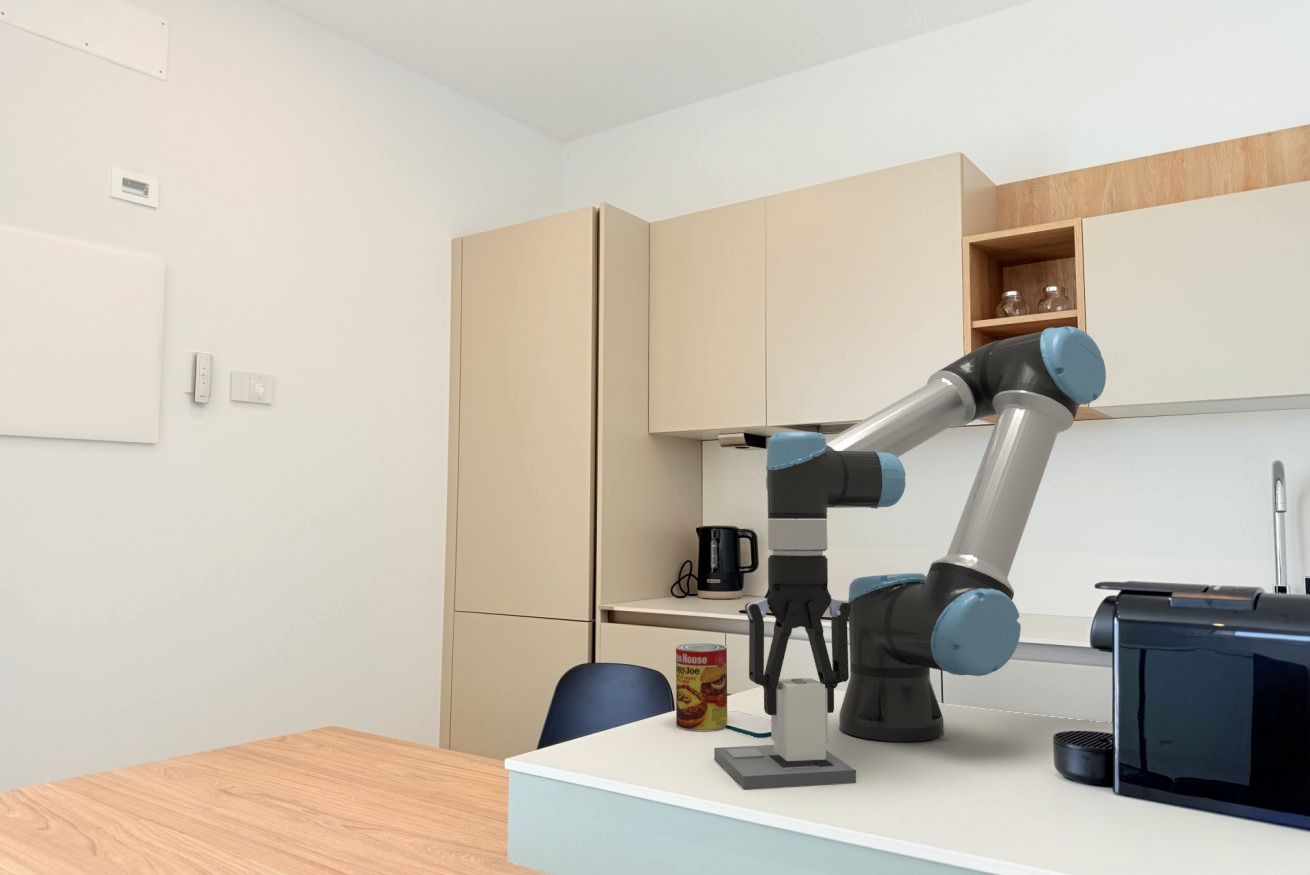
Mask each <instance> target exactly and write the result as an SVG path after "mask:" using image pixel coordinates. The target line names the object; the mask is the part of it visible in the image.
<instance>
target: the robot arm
mask: <svg viewBox="0 0 1310 875" xmlns="http://www.w3.org/2000/svg"><path fill="white" fill-rule="evenodd" d="M1106 378H1107V371H1106V365H1105V361H1104V358H1103V356H1102V352H1101V350H1100V348H1099V346H1098V345H1097V342H1095V340H1094V339H1093V338H1092V337H1091V336H1090V335H1089V334H1088V333H1087V332H1085V331H1084V330H1082V329H1080V328H1078V327H1075V326H1062V327H1048V328H1045V329H1044V330H1043V331H1038V332H1033V333H1030V334H1025V335H1019V336H1014V337H1009V338H1006V339H1000V340H994V341H991V342H990V343H987V344H984V345H982V346H980V347H978V348H976V349H974V350H972V351H971V352H968V353H967V354H965V355H963V356H962V357H960V358H958V359H956V360H955V361H953V362H952V363H950V364H948V365H945V367H943V368H941V369H939V370H937V371H936V372H935V373H932V375H930V377H928V379H927V381H926V385H924V386H922V387H920V388H917V390H915V391H913V392H911V393H908V395H906V396H904V397H902V398H900V399H899V400H897V401H896V402H893V403H891V404H890V405H888V406H886V407H884V408H882V409H881V410H879V411H877V412H875V413H873V414H872V415H870V416H868V417H867V418H865V419H863V420H861V421H859V422H858V423H856V424H854V425H852V426H850V427H849V428H847V429H845V430H843V431H841V432H839V433H838V434H836V435H834V436H832V437H831V438H829V439H826V436H825V435H824V434H823V433H820V432H815V431H787V432H785V431H784V432H778V433H775V434H773V435H772V436H770V438H769V439H768V443H767V450H766V454H767V455H766V456H767V457H766V466H765V469H766V478H765V487H766V490H767V549H768V550H769V551H772V554H770V555H769V557H767V583H768V584H767V585H768V587H767V591H766V593H765V596H764V599H761V600H758V601H756V602H747V603H746V604H745V606H744V610H745V613H746V615H747V618H748V621H749V622H748V624H749V626H748V627H749V628H748V629H749V630H748V632H749V634H748V637H749V638H748V643H749V644H748V652H749V653H748V678H749V680H750V681H751V682H753V683H755V684H756V685H759V686H762V687H763V688H762V689H763V710H764V713H765V714H766V715H768V716H770V718H771V719H770V720H771V737H770V738H771V740H772V741H773V742H774V741H775V742H776V743H778V744H784V699H783V689H781V688H779V687H777V686H778V682H779V679H780V677H781V673H782V669H783V666H784V665H783V664H784V660H785V655H786V651H787V646H788V643H789V638H790V636H791V634H792V632H793V629H798V628H800V627H803V628H804V630H805V632H806V633H807V637H808V641H809V646H810V649H811V652H812V657H813V660H814V661H813V662H814V665H815V668H816V672H817V676H818V680H819V682H820V683H822V684H824V685H825V732H826V743H827V742H829V734H828V733H829V732H828V730H829V728H828V726H829V724H828V722H829V721H828V720H829V719H828V718H829V714H832V713H834V710H835V688H837V687H838V684H840V683H846V682H847V681H848V684H847V686H846V690H845V693H844V697H843V700H842V704H841V707H840V710H839V715H838V716H839V718H838V719H839V722H838V723H839V730H840V731H842V732H843V733H845V734H848V735H851V736H853V737H859V738H861V739H862V738H863V739H868V740H876V741H884V742H885V741H886V742H920V741H921V742H922V741H928V740H935V739H938V738H940V737H942V736H944V733H945V732H944V731H945V728H944V727H945V726H944V716H943V714H942V710H941V708H940V704H939V702H938V699H937V696H936V694H935V691H934V687H933V684H932V681H931V675H930V673H931V670H930V669H933V670H938V671H943V672H947V673H948V674H951V675H954V676H955V675H957V676H974V677H982V676H986V675H990V674H991V673H994V672H996V671H998V670H1000V669H1001V668H1002V667H1004V666H1005V665H1006V664H1007V663H1008V661H1009V660H1011V658H1012V657H1013V655H1014V653H1015V652H1016V649H1017V646H1018V644H1019V642H1020V637H1021V630H1022V629H1021V628H1022V627H1021V626H1022V625H1021V623H1020V622H1018V620H1019V618H1020V614H1019V610H1018V608H1017V606H1016V604H1015V603H1014V601H1013V598H1014V596H1015V591H1014V590H1015V589H1013V587H1012V585H1011V583H1010V582H1009V578H1008V577H1009V574H1010V571H1011V569H1012V565H1013V562H1014V559H1015V558H1016V554H1017V552H1018V549H1019V546H1020V543H1021V540H1022V536H1023V534H1024V531H1025V528H1026V526H1027V523H1028V520H1029V516H1030V514H1031V511H1032V509H1033V505H1034V502H1035V499H1036V497H1037V493H1038V491H1039V489H1040V485H1041V482H1042V481H1043V480H1042V479H1043V476H1044V473H1045V470H1046V468H1047V465H1048V462H1049V459H1050V456H1051V454H1052V451H1053V448H1054V445H1055V442H1056V439H1057V436H1058V434H1060V433H1062V432H1065V431H1068V430H1069V429H1070V428H1071V427H1072V426H1073V424H1074V421H1075V418H1076V416H1077V413H1078V410H1079V407H1080V406H1081V405H1088V404H1091V403H1092V402H1094V401H1096V400H1097V399H1099V398H1100V396H1102V394H1103V392H1104V389H1105V386H1106V380H1107V379H1106ZM995 415H998V416H997V418H996V422H995V423H994V427H993V429H992V432H991V434H990V438H989V439H988V442H987V445H986V448H985V451H984V453H983V456H982V458H981V461H980V464H979V468H978V470H977V472H976V475H975V478H974V481H973V484H972V486H971V489H970V491H969V494H968V496H967V500H966V503H965V505H964V507H963V509H962V510H963V511H962V513H961V516H960V518H959V522H958V524H957V526H956V529H955V532H954V534H953V537H952V540H951V542H950V546H949V548H948V551H947V553H946V555H945V556H943V557H941V558H939V559H936V560H934V561H932V563H931V564H930V567H929V570H928V572H927V575H925V573H922V572H920V573H919V572H918V573H917V572H916V573H914V572H912V573H896V574H895V573H894V574H893V573H892V574H881V575H880V574H879V575H869V576H862V577H861V576H860V577H857V578H855V579H853V580H851V582H850V584H849V588H848V601H847V602H846V601H840V600H836V599H834V598H832V596H831V593H830V592H829V590H828V585H829V584H828V583H829V574H828V571H829V569H828V568H829V567H828V565H829V564H828V563H829V562H828V557H827V556H826V555H823V553H824V552H826V551H827V550H828V521H827V520H828V509H835V508H836V509H837V508H838V509H839V508H841V509H846V508H847V509H848V508H870V509H878V508H888V507H892V506H894V505H896V504H897V503H898V502H899V501H900V500H901V499H902V497H903V495H904V493H905V488H906V485H907V484H906V483H907V482H906V480H907V479H906V470H905V467H904V465H903V463H902V461H901V460H900V459H899V457H901V456H902V455H904V454H907V452H910V451H911V450H913V449H915V448H917V447H918V446H919V445H922V444H924V443H925V442H927V441H928V440H930V439H931V438H934V437H935V436H938V435H939V434H941V433H942V432H944V431H945V430H947V429H949V428H951V427H957V428H961V427H964V426H966V425H969V424H970V423H972V422H974V421H976V420H978V419H981V418H985V417H990V416H995ZM828 609H829V615H830V616H831V623H830V624H831V627H830V630H831V657H832V658H831V660H832V661H831V660H830V656H829V651H828V648H827V644H826V641H825V640H826V639H825V636H824V627H823V624H822V617H823V616H824V614H825V613H826V611H828ZM767 610H769V611H770V612H771V614H772V616H774V618H775V622H774V626H773V636H772V639H771V644H770V648H769V653H768V656H767V660H766V666H765V622H764V618H766V616H767ZM848 636H849V639H848ZM831 662H832V664H831ZM849 662H850V664H849ZM849 670H850V672H849ZM849 674H850V675H849Z"/></svg>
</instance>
